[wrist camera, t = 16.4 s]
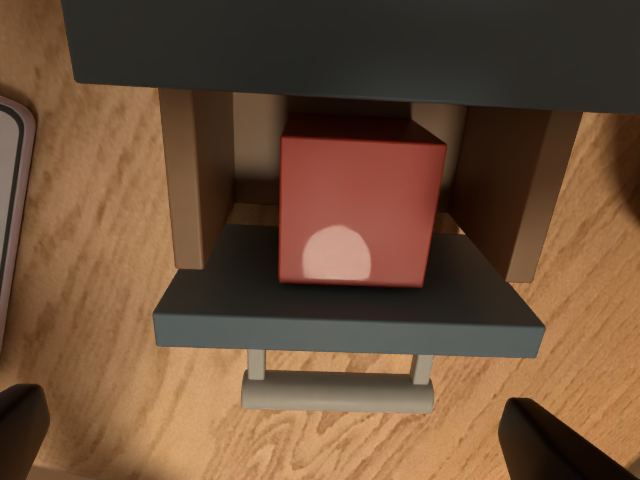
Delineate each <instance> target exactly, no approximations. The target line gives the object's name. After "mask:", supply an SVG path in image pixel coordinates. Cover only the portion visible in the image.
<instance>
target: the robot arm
mask: <svg viewBox="0 0 640 480" xmlns="http://www.w3.org/2000/svg"><path fill="white" fill-rule="evenodd" d="M49 425H50V413H49V409H48V405H47V401H46V397H45V393H44V390H43V388H42V387H41V386H40V385H38V384H16V385H13V386H11V387H9V388H8V389H6V390H4V391H2V392H1V393H0V480H26V478H27V475H28V473H29V471H30V469H31V467H32V464H33V462H34V460H35V458H36V456H37V453H38V451H39V449H40V447H41V445H42V442H43V440H44V438H45V436H46V434H47V431H48V429H49ZM498 437H499V441H500V445H501V448H502V452H503V455H504V458H505V462H506V465H507V468H508V472H509V475H510V478H511V480H640V479H638V478H637V477H635V476H634V475H633V474H632V473H630V472H629V471H627V470H626V469H625V468H624V467H622V466H621V465H620V464H618V463H617V462H616V461H614V460H613V459H611V458H610V457H609V456H607V455H606V454H605V453H603V452H602V451H601V450H599V449H598V448H597V447H595V446H594V445H593V444H591V443H590V442H589V441H587V440H586V439H585V438H583V437H582V436H581V435H579V434H578V433H577V432H575V431H574V430H573V429H571V428H570V427H569V426H567V425H566V424H565V423H563V422H562V421H560V420H559V419H558V418H556V417H555V416H554V415H552V414H551V413H550V412H548V411H547V410H546V409H544V408H543V407H542V406H540V405H539V404H538V403H536V402H535V401H533V400H532V399H530V398H509V399H508V400H507V402H506V405H505V408H504V411H503V414H502V418H501V421H500V424H499V428H498Z"/></svg>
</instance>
